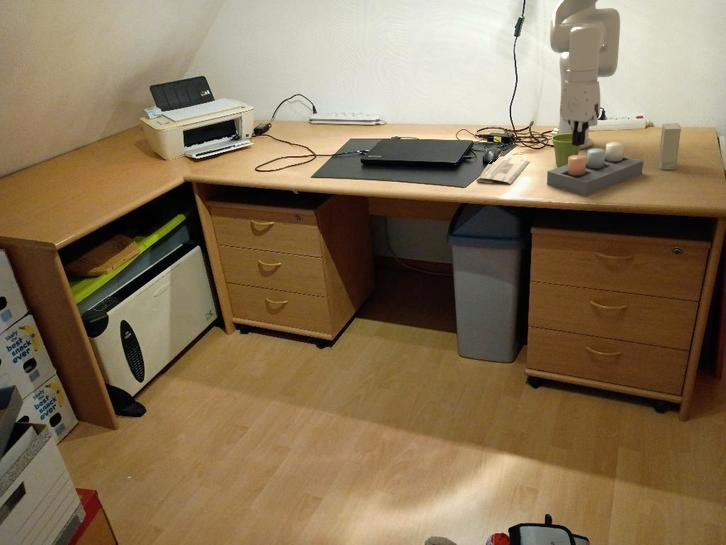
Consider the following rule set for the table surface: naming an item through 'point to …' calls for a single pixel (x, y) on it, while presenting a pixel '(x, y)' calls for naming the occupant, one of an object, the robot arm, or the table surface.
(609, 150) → the cream white egg
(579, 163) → the light brown oval
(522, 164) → the newspaper
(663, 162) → the skincare box
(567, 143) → the plant pot
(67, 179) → the table surface
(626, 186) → the table surface
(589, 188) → the grey egg holder
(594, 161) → the pale blue egg
